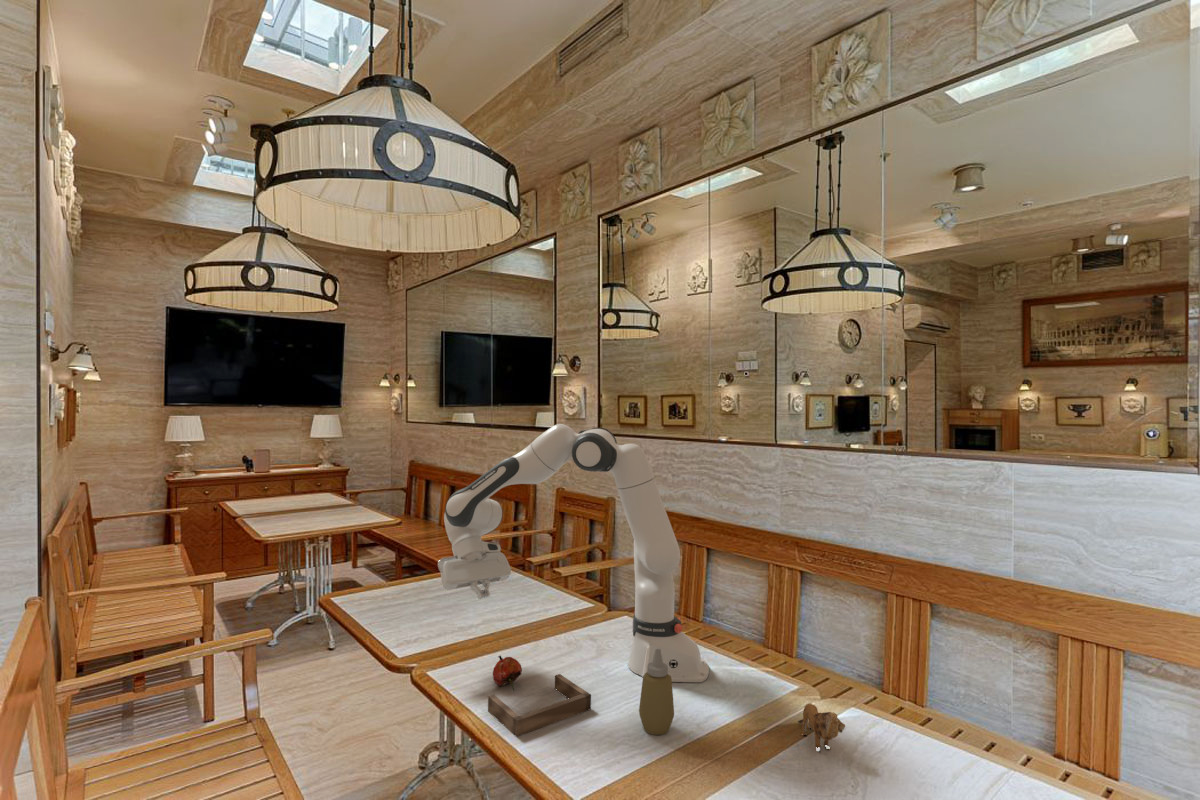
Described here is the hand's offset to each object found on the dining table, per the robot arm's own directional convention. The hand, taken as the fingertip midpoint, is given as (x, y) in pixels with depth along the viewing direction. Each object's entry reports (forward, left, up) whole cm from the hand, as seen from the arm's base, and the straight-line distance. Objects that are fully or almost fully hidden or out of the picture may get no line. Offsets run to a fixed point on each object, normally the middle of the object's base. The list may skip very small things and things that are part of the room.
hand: (484, 597), depth 167 cm
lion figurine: (-86, +18, -19) cm, 90 cm away
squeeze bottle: (-50, +21, -19) cm, 58 cm away
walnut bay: (-22, +19, -19) cm, 34 cm away
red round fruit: (-10, +9, -19) cm, 24 cm away
